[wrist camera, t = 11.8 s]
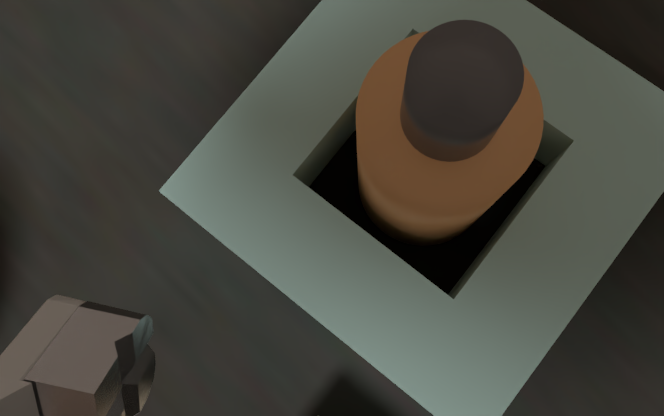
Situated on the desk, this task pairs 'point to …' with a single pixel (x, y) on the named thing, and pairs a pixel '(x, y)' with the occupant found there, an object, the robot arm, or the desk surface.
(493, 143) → the plug
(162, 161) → the desk surface
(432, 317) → the socket block
